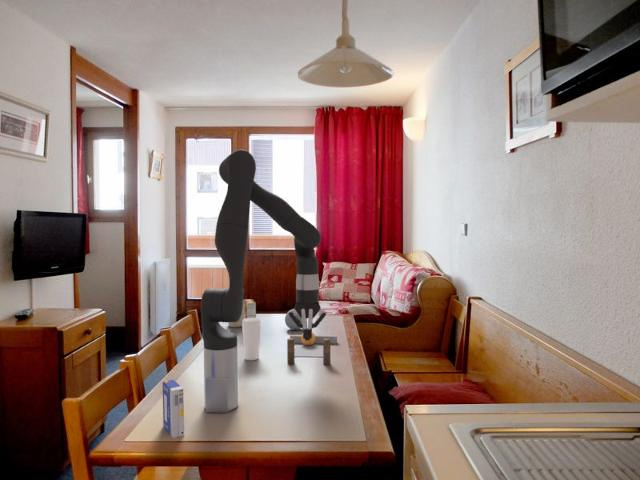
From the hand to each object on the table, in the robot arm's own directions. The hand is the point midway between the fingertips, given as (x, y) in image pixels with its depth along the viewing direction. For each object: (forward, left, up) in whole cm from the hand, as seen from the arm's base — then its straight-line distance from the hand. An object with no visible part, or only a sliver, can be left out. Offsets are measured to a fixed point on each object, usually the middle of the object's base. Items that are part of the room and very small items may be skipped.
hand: (307, 339), depth 148 cm
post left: (+15, +7, -13) cm, 21 cm away
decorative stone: (+65, +11, -13) cm, 67 cm away
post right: (+15, -6, -13) cm, 20 cm away
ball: (+39, +3, -10) cm, 40 cm away
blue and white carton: (-38, +31, -13) cm, 51 cm away
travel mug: (+72, +41, -13) cm, 84 cm away
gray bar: (+43, +1, -13) cm, 45 cm away
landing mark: (+30, +1, -13) cm, 32 cm away
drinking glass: (+20, +23, -13) cm, 33 cm away
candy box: (+57, +31, -13) cm, 66 cm away
